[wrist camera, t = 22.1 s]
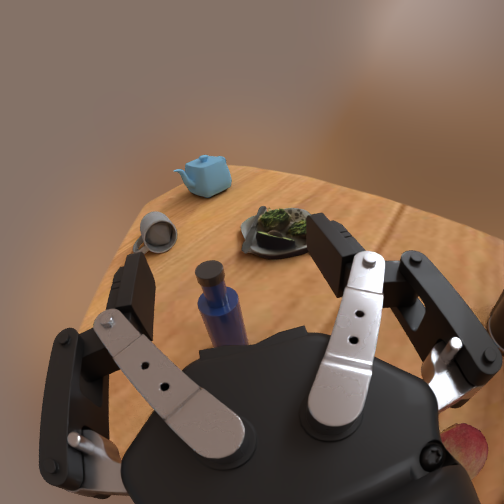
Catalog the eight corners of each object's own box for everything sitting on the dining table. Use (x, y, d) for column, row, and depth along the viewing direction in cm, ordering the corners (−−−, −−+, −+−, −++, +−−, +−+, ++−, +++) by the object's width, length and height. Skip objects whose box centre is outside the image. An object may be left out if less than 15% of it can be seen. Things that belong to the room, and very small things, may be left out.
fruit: (395, 467, 20) (425, 452, 15) (438, 425, 22) (470, 399, 17) (430, 504, 14) (467, 497, 9) (471, 459, 16) (509, 439, 11)
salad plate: (230, 219, 66) (227, 202, 64) (299, 205, 68) (299, 188, 66) (246, 269, 51) (243, 248, 48) (334, 247, 53) (336, 227, 50)
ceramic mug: (171, 230, 66) (162, 203, 61) (181, 245, 60) (172, 215, 55) (132, 248, 62) (121, 221, 57) (138, 264, 56) (125, 235, 52)
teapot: (172, 200, 81) (163, 165, 74) (217, 178, 90) (211, 147, 84) (193, 209, 74) (184, 170, 67) (241, 185, 83) (236, 150, 76)
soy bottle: (225, 331, 40) (202, 251, 31) (254, 340, 38) (239, 259, 29) (209, 355, 36) (177, 278, 28) (239, 366, 35) (216, 289, 26)
